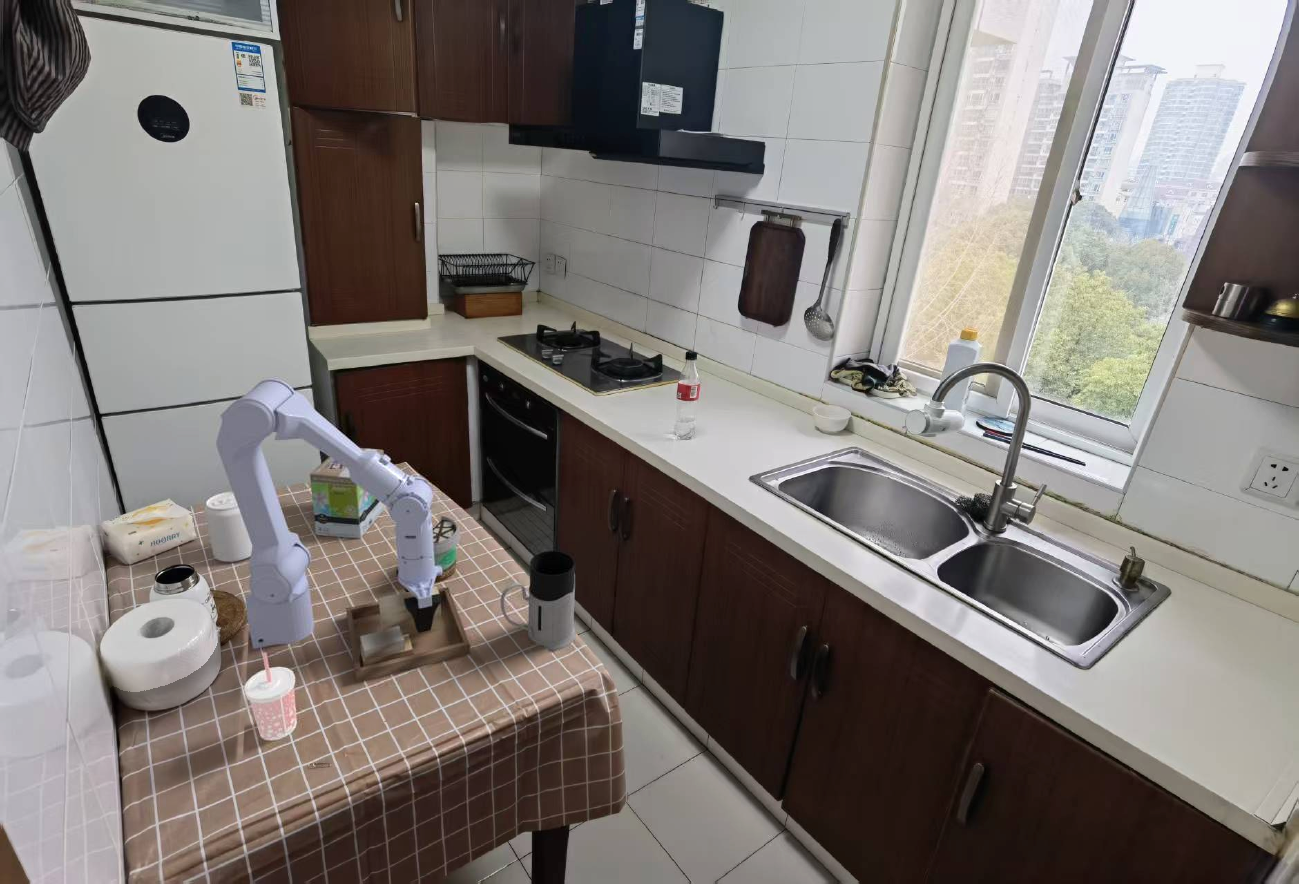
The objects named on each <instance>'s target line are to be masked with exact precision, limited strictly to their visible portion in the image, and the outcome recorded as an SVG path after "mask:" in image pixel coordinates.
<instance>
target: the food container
mask: <svg viewBox="0 0 1299 884" xmlns="http://www.w3.org/2000/svg"><path fill="white" fill-rule="evenodd" d="M460 540H461V531H460V528H459V526H458V525H457V523H456V522H455V521H454V520H453V519H452V518H450V517H448V516H445V515H444V516H443V515H440V521H438V523H437V524H436V525H435V526H433V545H434V563H435V566H441V568H442V575H438V576H436V579H435V582H434V584H437V583H441V582H443V581H446V580H448V579H450V578H451V577H452V576H453V575H454V574H455V573H456V569H457V553H458V552H457V551H458V550H457V549H458V543H460Z"/></svg>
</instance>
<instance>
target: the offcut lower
mask: <svg viewBox="0 0 1299 884" xmlns="http://www.w3.org/2000/svg"><path fill="white" fill-rule="evenodd" d="M403 638H404V642H405V650H402V651H398V652H395V653H391V654H388V655H384V656H381V657H377V658H374V659H370V660H367V661H366V660H365V657H364V654H363V650H362V647H361V645H360V647H361V655H362V661H363V667H365V666H370V665H374V664H378V663H382V662H386V661H390V660H394V659H398V658H402V657H406V656H410V655H413V648H412V645H411V641H410V637H409V634H406V635H403Z"/></svg>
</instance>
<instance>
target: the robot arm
mask: <svg viewBox="0 0 1299 884" xmlns="http://www.w3.org/2000/svg"><path fill="white" fill-rule="evenodd" d="M220 418H221V424H220V429H219V430H218V431H219V432H218V434H217V438H216V441H215V442H216V443H215V445H216V449H217V451H218V454H219V457H220V460H221V463H222V466H223V468H224V471H225V473H226V476H227V480H228V482H229V485H230V487H231V492H233V493H234V496H235V499H236V502H237V504H238V507H239V510H240V513H241V516H242V518H243V521H244V524H245V527H246V529H247V532H248V535H249V538H250V541H251V543H252V552H251V556H250V557H249V562H248V570H249V573H250V579H249V583H248V587H249V590H250V591H249V592H250V593H248V594H246V596H245V606H246V607H245V609H246V610H245V611H246V617H247V624H248V632H249V636H250V638H251V645H252V649H255V650H256V649H261V648H265V647H269V646H270V647H271V646H275V645H286V644H294V643H297V642H299V641H301V640H303V639H305V638H307V637H308V636H309V635H310V634H312V632H313V631H314V629H315V620H314V612H313V607H312V601H311V600H312V599H311V592H310V585H309V580H308V578H307V574H306V570H307V569H308V568H309V566H310V565H311V563H312V554H311V552H310V551H309V549H308V548H306V546H305V545H304V544H303V543H302V542H301V540H300V537H299V535H298V534H297V533H295V532H292V531H290V530H289V528H288V524H287V521H286V519H285V516H284V513H283V510H282V508H281V504H280V501H279V498H278V495H277V491H276V489H275V486H274V485H275V484H274V482H273V480H272V476H271V473H270V470H269V467H268V463H267V462H266V458H265V456H264V453H263V449H262V446H261V444H262V443H263V441H264V440H265V439H266V438H267V437H269V436H271V434H272V433H276V434H275V437H274V440H275V441H287V440H295V439H296V440H297V439H301V440H304V442H306V443H307V444H309V445H311V446H313V447H314V448H315V449H317V450H319V451H320V452H322V453H323V454H325V455H326V456H327V457H328V458H329V457H331V458H333V459H334V460H336V461H337V462H339V463H340V464H342V465H343V466H345V467H347V468H348V470H349V474H350V479H351V481H353V482H354V483H355V484H357V485H358V486H359V487H361V488H362V489H364V490H365V491H366V492H368V493H369V494H370V495H372V496H373V497H375V498H376V499H377V500H379V501H380V502H381V503H383V504H384V505H386V508H389V509H388V512H387V513H388V515H389V517H390V519H391V520H392V521H393V522H394V524H395V528H394V530H395V531H394V532H395V543H396V552H397V553H396V554H397V566H398V567H397V568H398V569H396V571H395V573H396V576H397V577H396V578H397V580H398V583H400V584H401V585H402V587H403V588H404V590H405V592H411V593H412V594H413V595H414V596H415V597H410V598H405V599H404V603H405V606H406V608H407V610H408V611H409V612H410V613H411V615H412V617H413V619H414V623H415V626H416V629H417V631H418V633H421V632H425V631H430V630H431V627H432V623H433V618H434V614H435V611H436V609H437V607H438V606H439V605H440V603H441V597H440V594H435V595H431V592H432V589H433V587H434V585H435V583H434V582H435V579H436V576H438V575H442V568H441V566H435V563H434V545H433V528H434V526H433V521H432V512H431V511H432V509H430V508H431V505H432V503H433V501H434V496H435V495H434V489H433V487H432V485H431V484H430V483H429V482H428V481H427V479H426V478H423V477H419V476H413V475H411V474H410V475H409V474H407V473H405V471H402V470H401V469H400V468H399V467H397V466H396V465H395V464H393V463H392V462H391V460H392V459H391V458H390V456H389V455H387V454H385V453H384V455H383V456H382V455H380V454H379V453H378V452H376V451H362V450H361V449H360V448H361V447H359V446H358V445H357V444H355V442H353V441H352V440H351V439H349V438H348V437H347V436H346V435H345V434H344V433H342V432H341V431H340V430H338V428H337V427H336V426H335V425H333V424H332V423H331V422H329V421H328V420H327V419H326V418H325V417H324V416H322V415H321V414H320V413H319V412H318V411H317V410H316V409H315V408H314V407H313V406H312V404H311V403H310V401H309V400H308V399H307V398H306V396H305V395H303V394H302V393H300V392H298V391H295V390H294V388H293V387H292V386H291V385H290V384H289V383H287V382H285V381H283V380H281V379H277V378H267V379H263V380H261V381H260V382H258V383H257V384H256V385H255V386H254V387H253V388H252V389H251V390H249V391H248V392H247V393H246V394H244V395H242V397H240V398H238V399H236V400H235V401H233V402H232V403H231V404H230V405H229V406H228V407H227V408H226V409H225V410H224V411H223V412H222V413H221V414H220Z"/></svg>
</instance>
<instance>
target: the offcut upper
mask: <svg viewBox="0 0 1299 884" xmlns="http://www.w3.org/2000/svg"><path fill="white" fill-rule="evenodd" d="M360 639H361V647H362V650H363V654H364V657H365V660H366V661H367V660H370V659H374V658H377V657H381V656H384V655H388V654H391V653H395V652H398V651H402V650H405V642H404V638H403V635H402V632H401V630H400V627H399V626H397V627H393V628H389V629H386V630H382V631H378V632H374V633H371V634H367V635H363V636H360Z"/></svg>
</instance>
